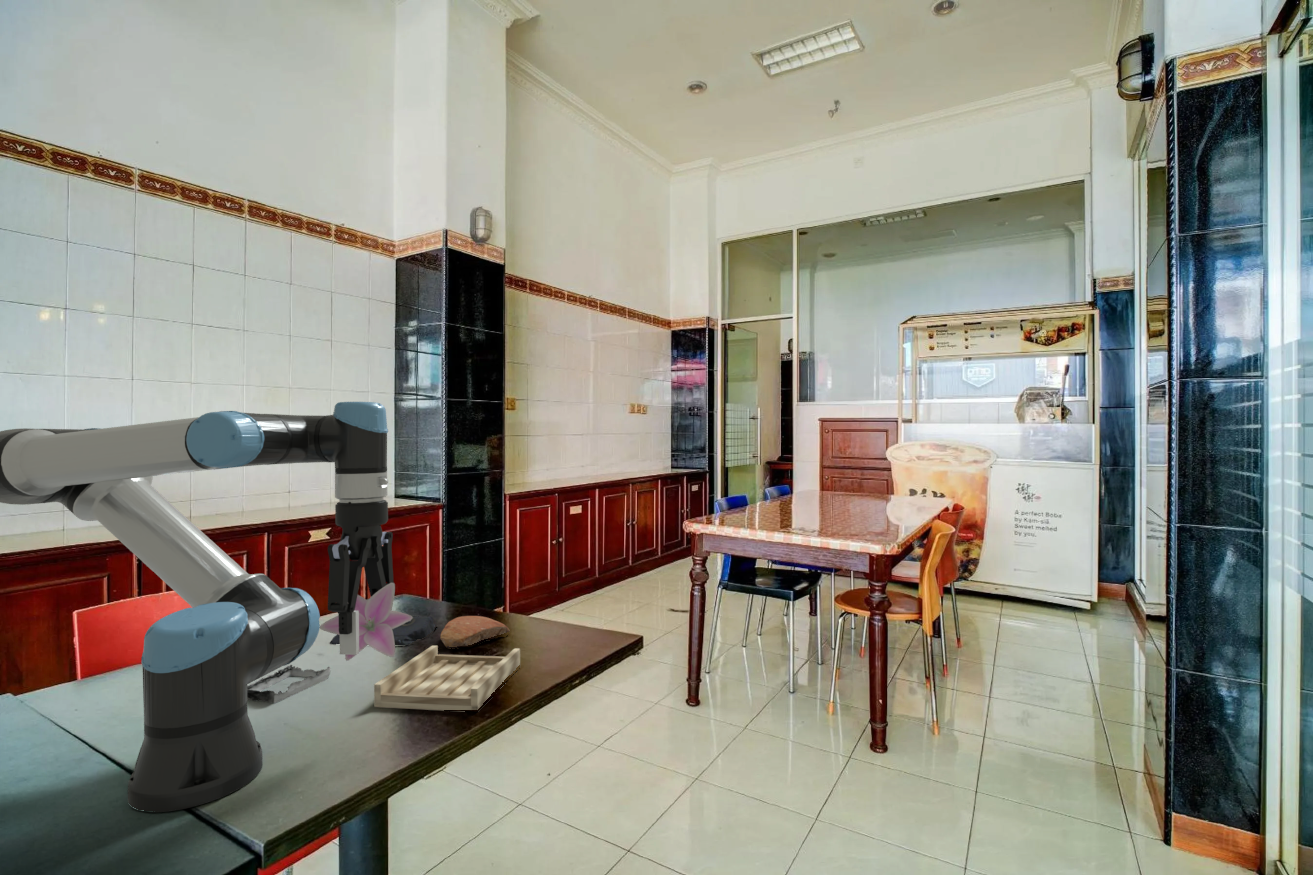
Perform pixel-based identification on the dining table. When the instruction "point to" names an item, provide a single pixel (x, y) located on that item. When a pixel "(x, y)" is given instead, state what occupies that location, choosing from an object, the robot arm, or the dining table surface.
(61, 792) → the dining table surface
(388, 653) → the lily
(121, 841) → the dining table surface
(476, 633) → the ceramic shard
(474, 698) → the drying rack
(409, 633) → the dark block with eyelet
